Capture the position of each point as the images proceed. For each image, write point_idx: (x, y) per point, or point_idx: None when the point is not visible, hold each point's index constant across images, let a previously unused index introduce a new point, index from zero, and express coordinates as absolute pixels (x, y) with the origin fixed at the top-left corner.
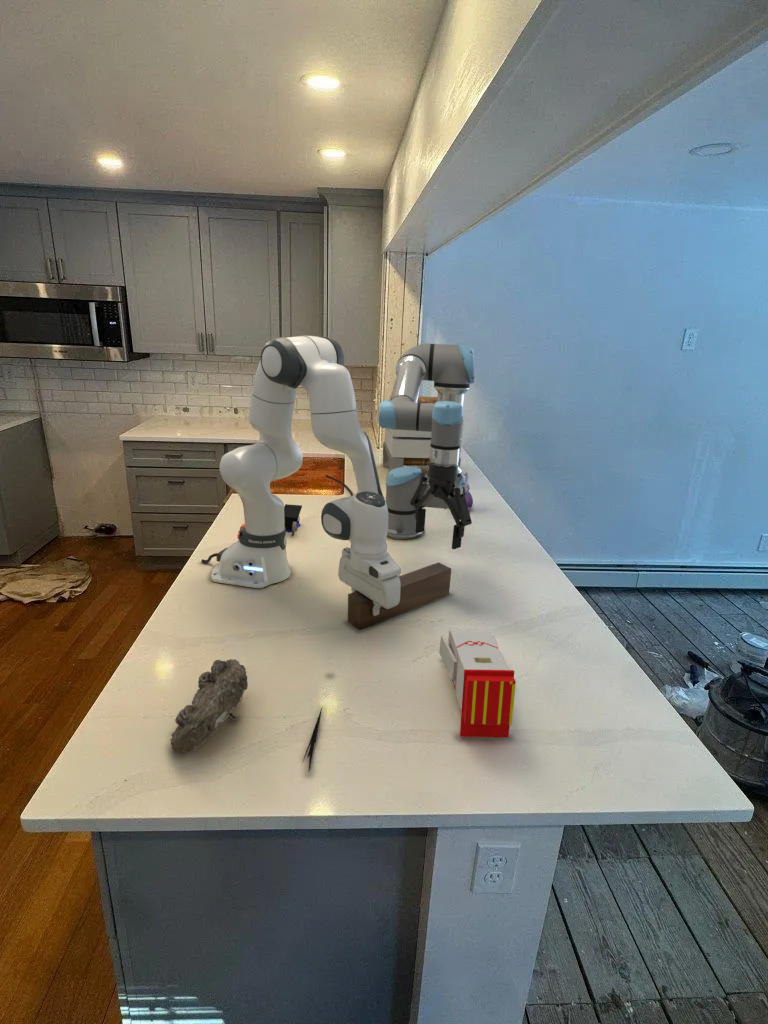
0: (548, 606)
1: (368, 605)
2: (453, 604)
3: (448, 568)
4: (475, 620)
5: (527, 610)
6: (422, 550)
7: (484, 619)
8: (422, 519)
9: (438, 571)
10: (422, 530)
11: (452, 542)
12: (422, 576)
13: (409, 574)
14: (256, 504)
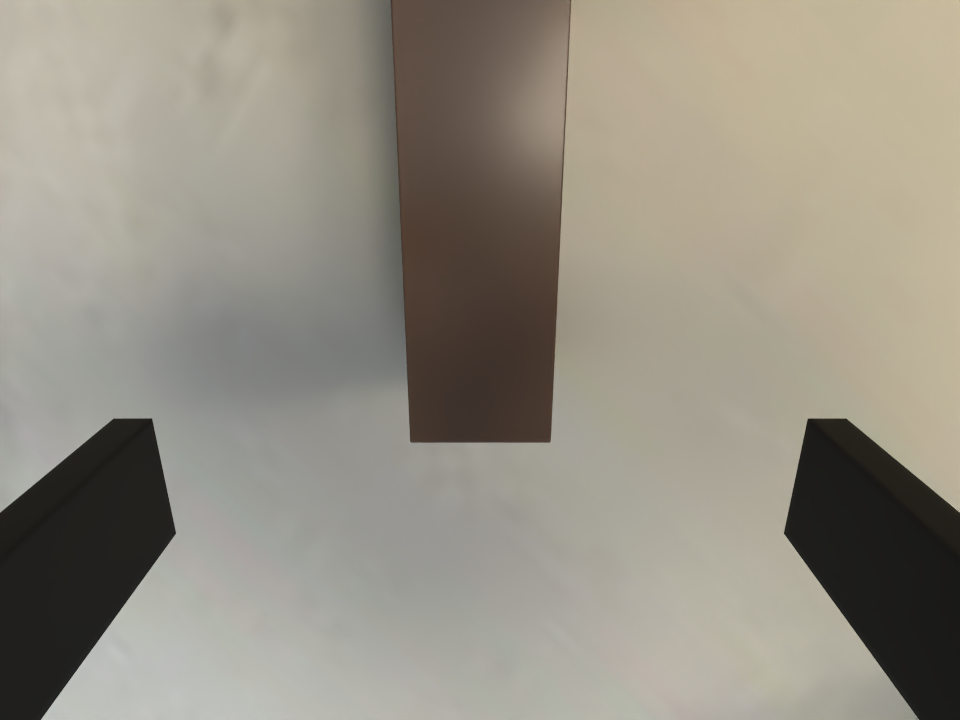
0: None
1: None
2: (323, 294)
3: (424, 425)
4: (115, 259)
5: None
6: None
7: (102, 308)
8: (906, 626)
9: (429, 326)
10: (798, 513)
11: (95, 464)
12: (436, 143)
13: (536, 69)
14: None
